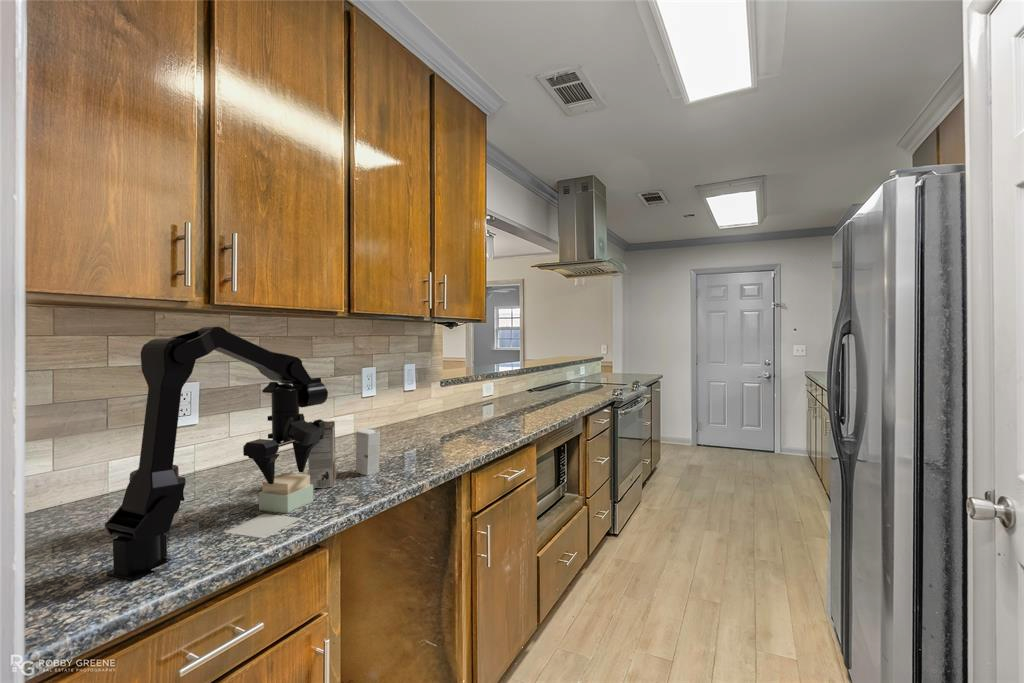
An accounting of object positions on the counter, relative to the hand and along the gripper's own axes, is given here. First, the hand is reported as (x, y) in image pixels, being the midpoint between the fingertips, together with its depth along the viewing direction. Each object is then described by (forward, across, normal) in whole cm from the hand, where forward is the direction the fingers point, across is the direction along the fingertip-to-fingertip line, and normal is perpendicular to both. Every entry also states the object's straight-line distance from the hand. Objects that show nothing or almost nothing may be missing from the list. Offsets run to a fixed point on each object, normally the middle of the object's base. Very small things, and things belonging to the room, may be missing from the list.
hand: (286, 477), depth 107 cm
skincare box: (+7, +29, -2) cm, 30 cm away
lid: (+2, 0, 0) cm, 3 cm away
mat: (+7, -11, -4) cm, 13 cm away
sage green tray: (+7, 0, 0) cm, 7 cm away
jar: (+7, -16, +19) cm, 26 cm away
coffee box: (+7, +17, +4) cm, 19 cm away
